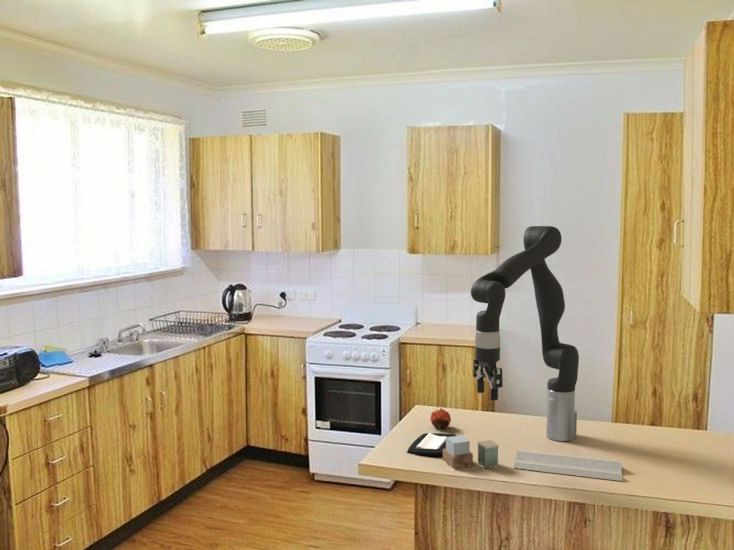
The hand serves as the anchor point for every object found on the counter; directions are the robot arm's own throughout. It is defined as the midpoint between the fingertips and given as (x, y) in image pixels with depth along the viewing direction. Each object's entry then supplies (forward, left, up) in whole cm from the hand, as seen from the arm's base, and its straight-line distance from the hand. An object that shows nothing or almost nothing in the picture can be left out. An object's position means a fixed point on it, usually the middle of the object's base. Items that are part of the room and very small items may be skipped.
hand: (487, 396), depth 202 cm
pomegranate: (-1, -36, -22) cm, 42 cm away
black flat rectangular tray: (+9, -21, -23) cm, 32 cm away
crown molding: (-22, +11, -23) cm, 34 cm away
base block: (+8, -5, -22) cm, 24 cm away
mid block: (+8, -5, -18) cm, 20 cm away
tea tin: (0, 0, -22) cm, 22 cm away
